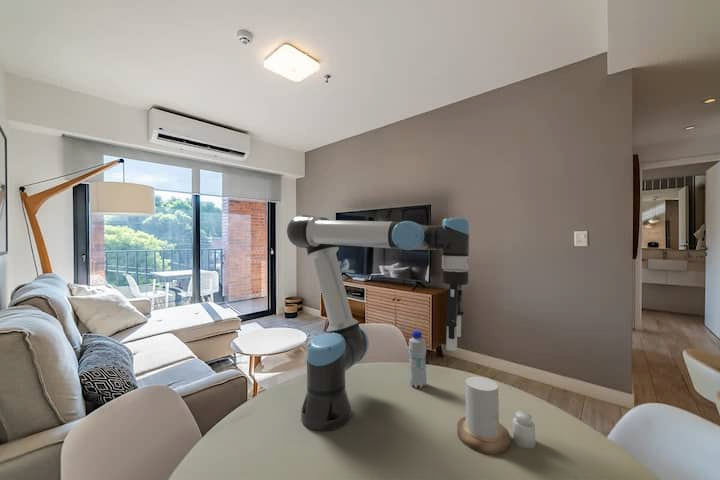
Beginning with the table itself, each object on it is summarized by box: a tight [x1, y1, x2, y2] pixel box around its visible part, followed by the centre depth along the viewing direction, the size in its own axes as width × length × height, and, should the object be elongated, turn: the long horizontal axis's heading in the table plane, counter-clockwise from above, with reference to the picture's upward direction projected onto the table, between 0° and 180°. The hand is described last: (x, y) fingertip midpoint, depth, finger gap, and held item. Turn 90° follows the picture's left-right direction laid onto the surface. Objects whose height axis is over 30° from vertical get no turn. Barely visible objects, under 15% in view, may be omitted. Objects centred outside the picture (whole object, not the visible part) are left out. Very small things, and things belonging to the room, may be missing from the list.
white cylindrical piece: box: [464, 376, 500, 439], centre depth 77 cm, size 8×8×12 cm
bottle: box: [407, 330, 427, 389], centre depth 107 cm, size 7×7×20 cm
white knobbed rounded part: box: [512, 410, 536, 450], centre depth 75 cm, size 5×5×7 cm
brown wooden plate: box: [456, 416, 511, 455], centre depth 77 cm, size 13×13×2 cm
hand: (454, 342), depth 84 cm, fingers open, 13 cm apart
